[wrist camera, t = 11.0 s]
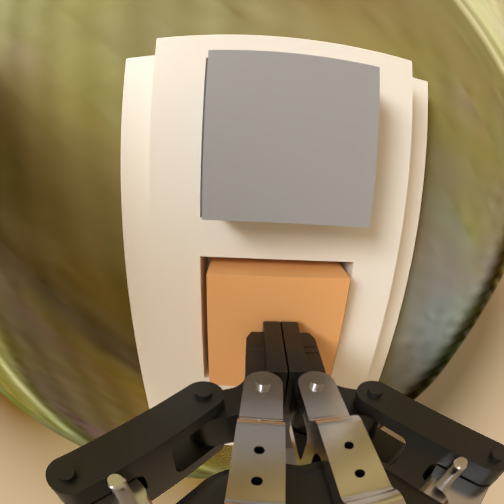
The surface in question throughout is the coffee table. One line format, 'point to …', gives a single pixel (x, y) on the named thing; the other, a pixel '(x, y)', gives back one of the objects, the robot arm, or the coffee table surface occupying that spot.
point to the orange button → (270, 307)
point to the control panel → (254, 233)
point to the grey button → (289, 138)
